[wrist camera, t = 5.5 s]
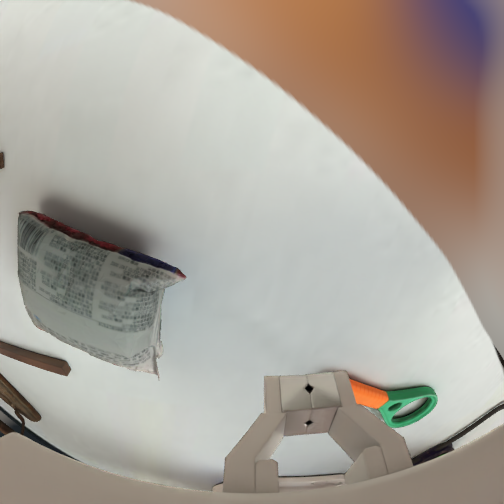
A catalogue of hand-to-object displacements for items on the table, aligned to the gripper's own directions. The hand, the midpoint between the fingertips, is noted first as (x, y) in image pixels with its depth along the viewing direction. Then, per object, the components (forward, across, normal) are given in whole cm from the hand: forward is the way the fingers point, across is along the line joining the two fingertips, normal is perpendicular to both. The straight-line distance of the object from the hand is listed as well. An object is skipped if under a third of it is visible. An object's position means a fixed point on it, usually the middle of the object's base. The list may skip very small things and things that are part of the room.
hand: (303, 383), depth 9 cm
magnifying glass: (+8, +11, -14) cm, 19 cm away
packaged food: (+8, -12, 0) cm, 14 cm away
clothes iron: (+8, -39, -22) cm, 46 cm away
